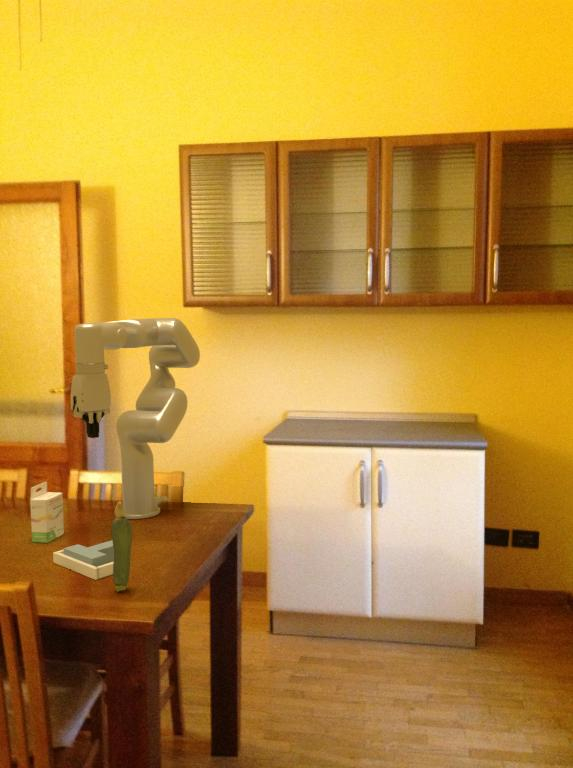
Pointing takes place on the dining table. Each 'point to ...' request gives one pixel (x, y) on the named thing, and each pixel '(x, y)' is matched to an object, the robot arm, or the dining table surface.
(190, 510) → the dining table surface
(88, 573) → the dock
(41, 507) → the ink box
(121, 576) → the vegetable
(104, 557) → the t block
